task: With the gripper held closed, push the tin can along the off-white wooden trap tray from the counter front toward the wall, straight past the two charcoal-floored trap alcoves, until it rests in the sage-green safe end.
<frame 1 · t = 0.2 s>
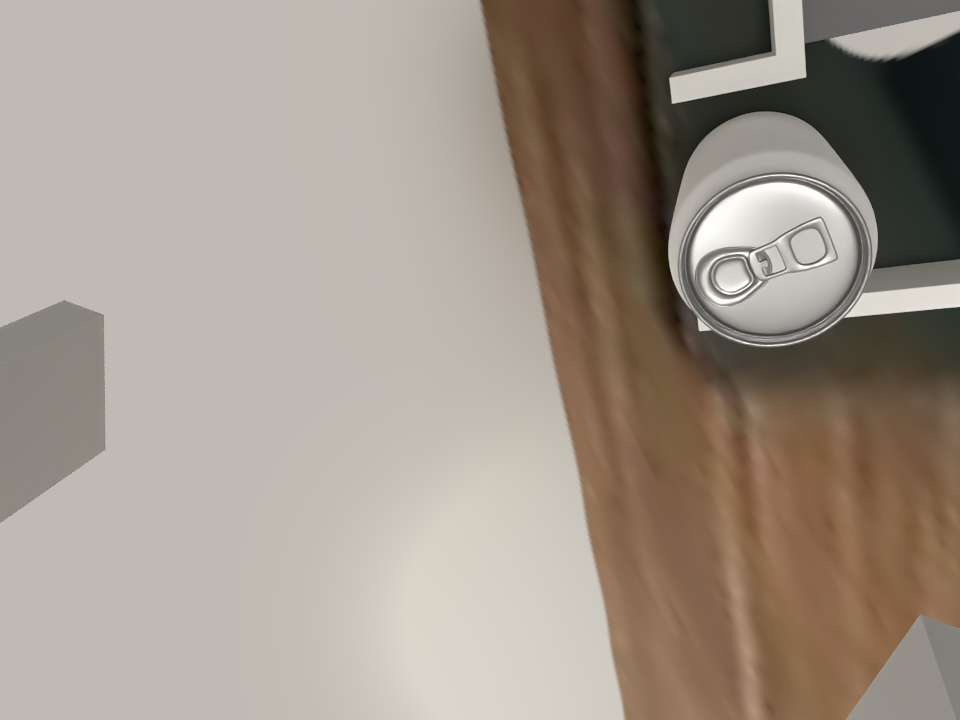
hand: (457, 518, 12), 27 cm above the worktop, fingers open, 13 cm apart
can: (756, 183, 33), on the worktop
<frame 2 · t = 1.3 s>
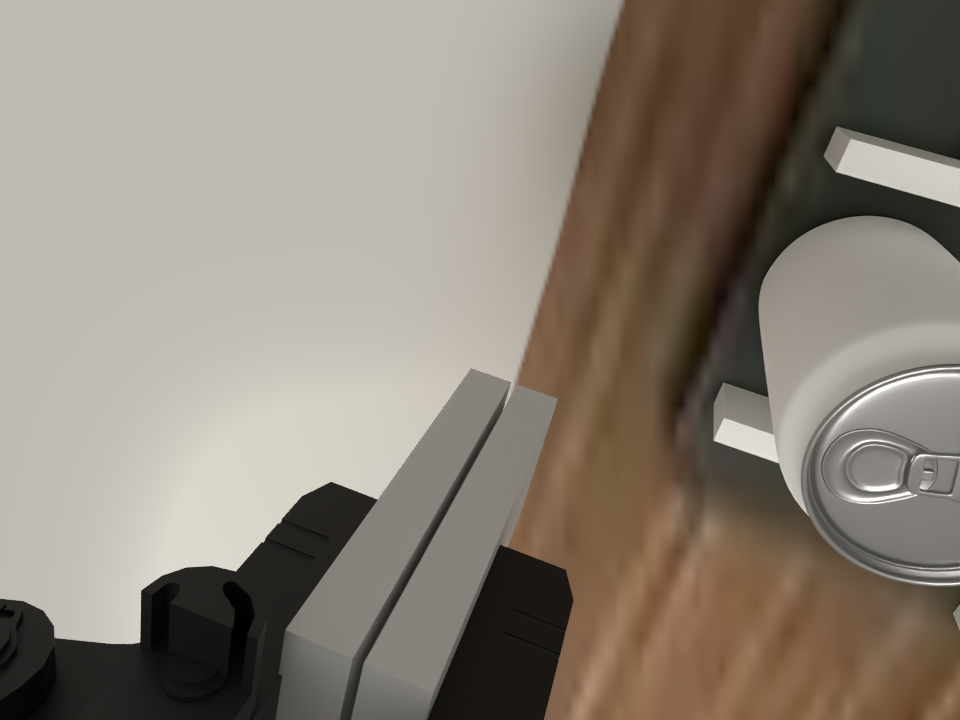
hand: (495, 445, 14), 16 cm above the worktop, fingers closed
can: (852, 299, 27), on the worktop
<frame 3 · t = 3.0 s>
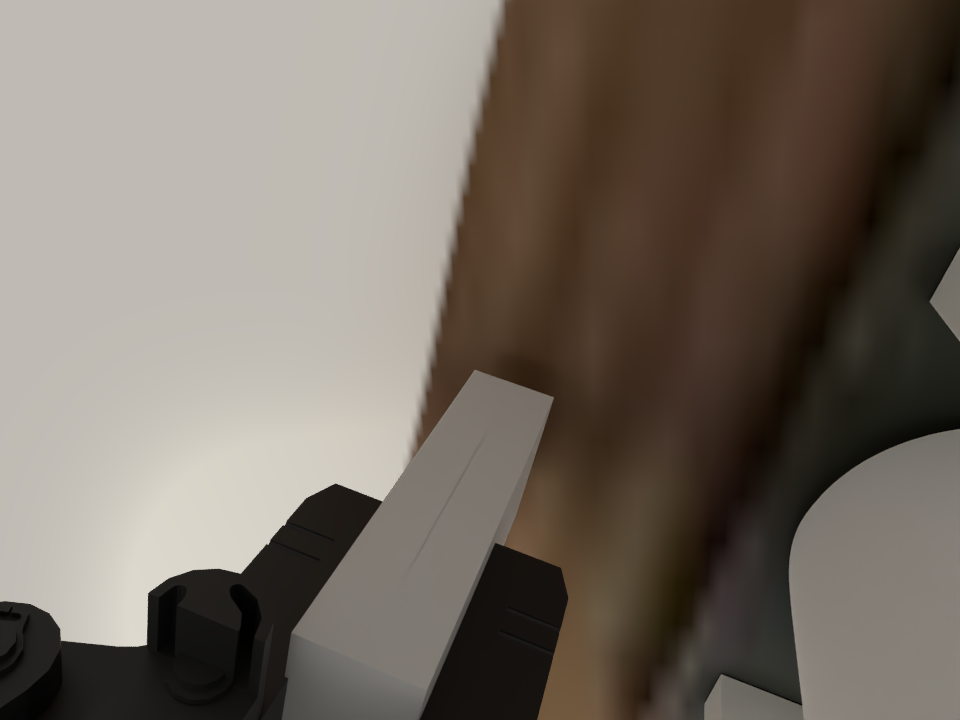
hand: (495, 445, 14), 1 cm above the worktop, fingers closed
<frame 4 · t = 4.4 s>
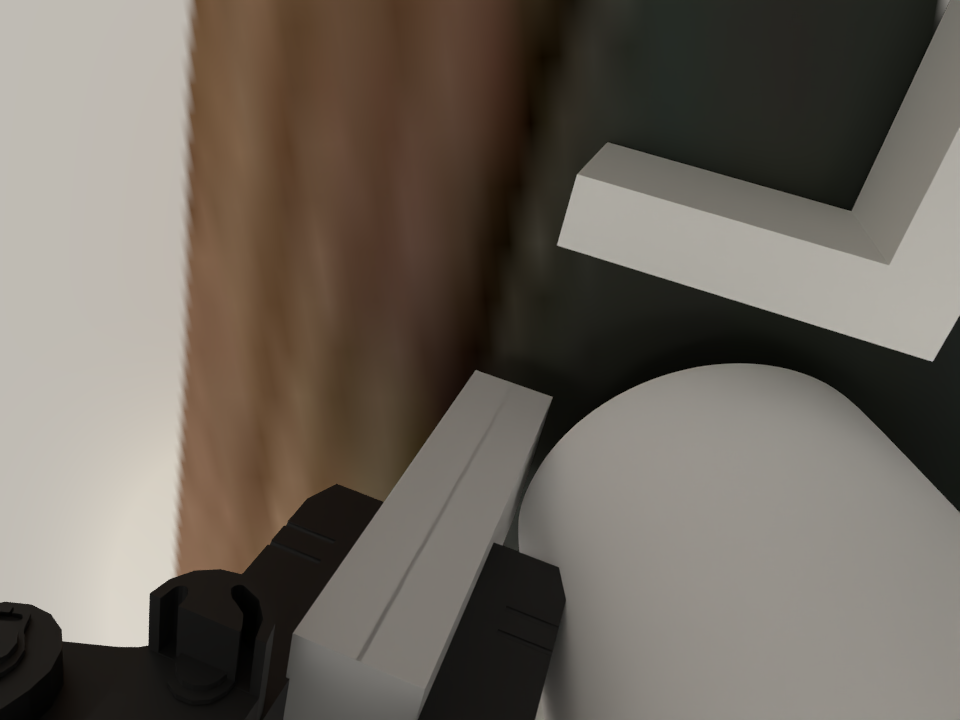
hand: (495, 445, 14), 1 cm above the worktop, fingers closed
can: (689, 499, 13), point 1 cm above the worktop, touching gripper, hand
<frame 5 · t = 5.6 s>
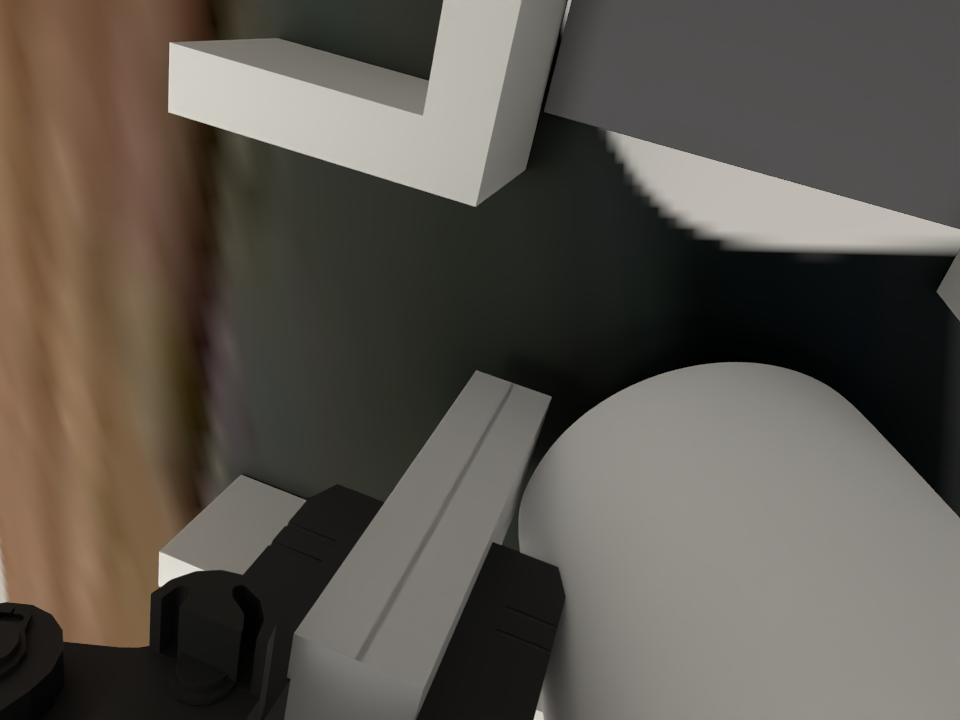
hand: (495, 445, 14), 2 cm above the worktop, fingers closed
trap tray: (926, 544, 14), on the worktop
can: (687, 496, 14), point 1 cm above the worktop, touching gripper, hand
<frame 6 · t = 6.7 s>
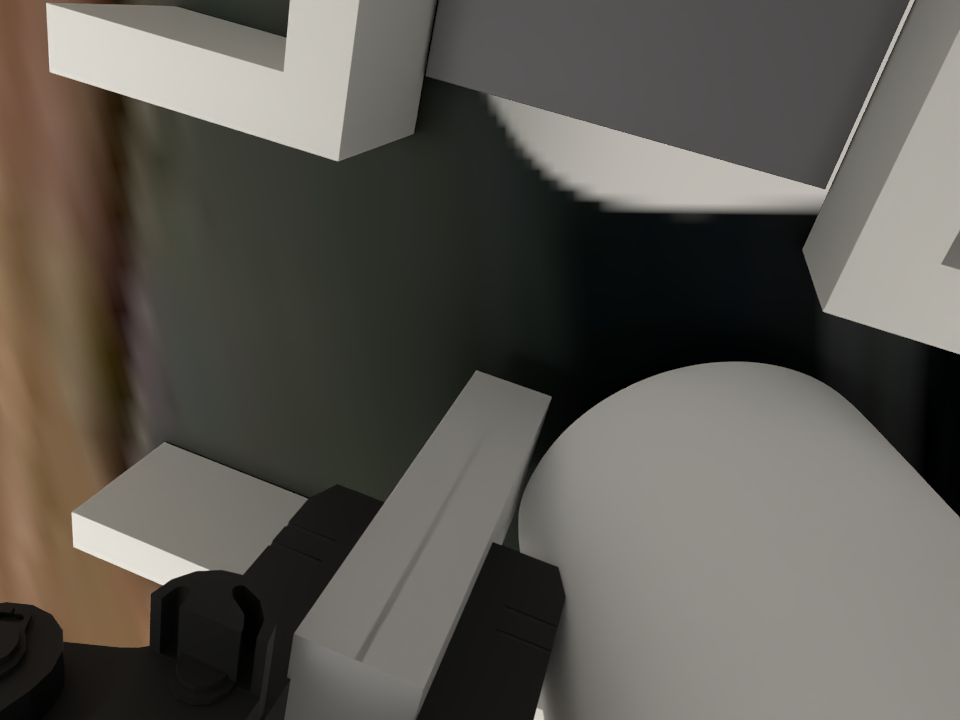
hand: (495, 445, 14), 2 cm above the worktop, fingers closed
trap tray: (808, 502, 14), on the worktop
can: (687, 496, 14), point 1 cm above the worktop, touching gripper, hand
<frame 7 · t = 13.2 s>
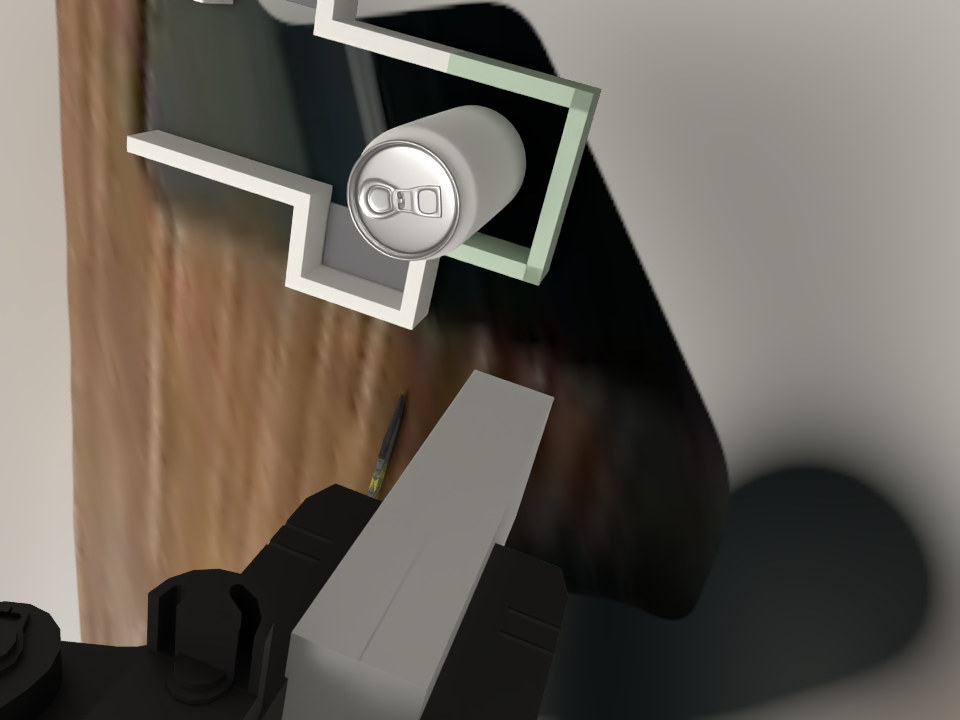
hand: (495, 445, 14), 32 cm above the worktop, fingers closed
trap tray: (357, 119, 46), on the worktop
can: (476, 159, 45), on the worktop
knife: (377, 506, 58), on the worktop
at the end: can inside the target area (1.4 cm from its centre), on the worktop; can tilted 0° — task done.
